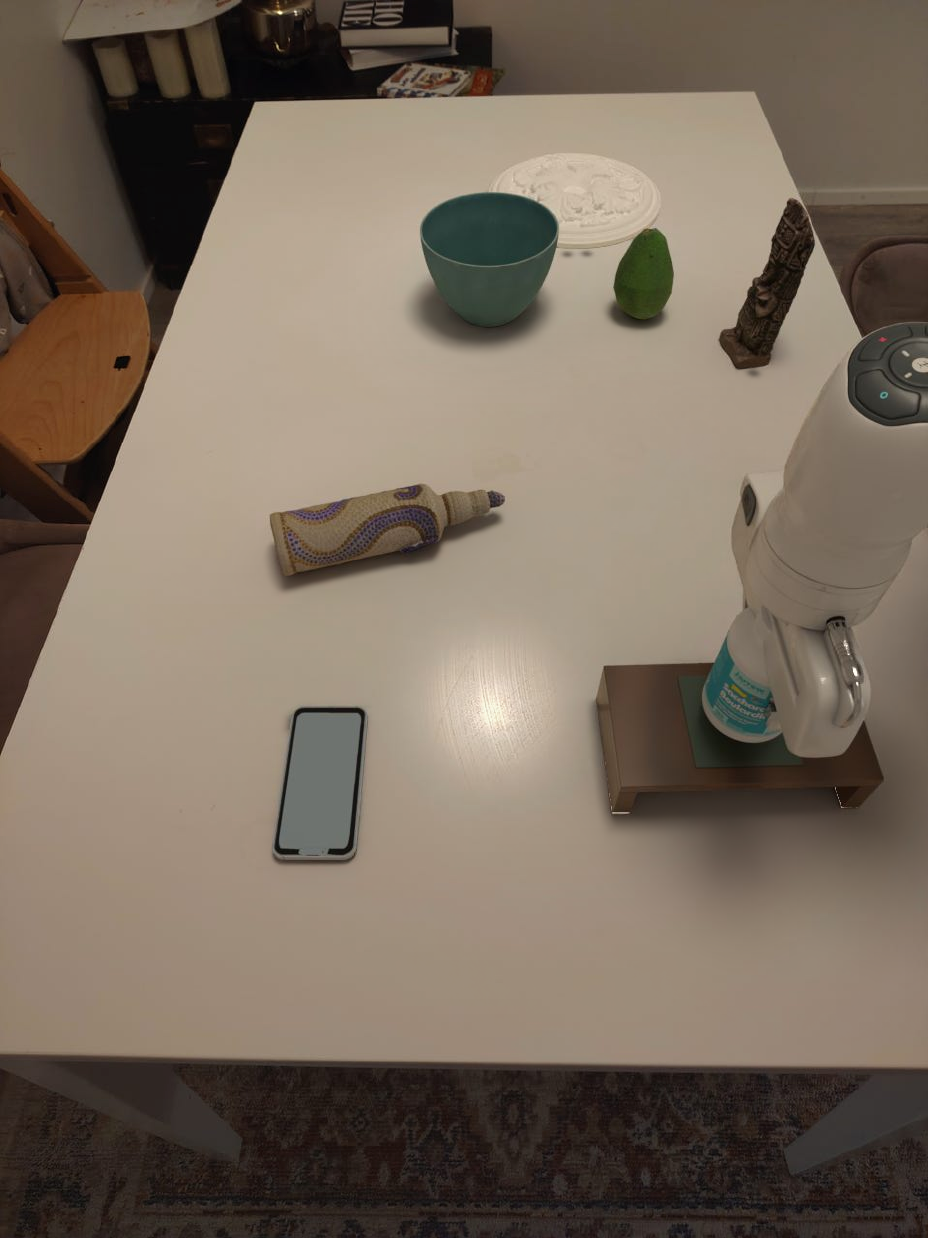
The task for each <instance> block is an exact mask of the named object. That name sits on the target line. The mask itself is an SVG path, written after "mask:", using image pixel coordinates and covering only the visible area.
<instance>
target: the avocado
mask: <svg viewBox="0 0 928 1238" xmlns="http://www.w3.org/2000/svg"><path fill="white" fill-rule="evenodd" d="M673 265H674V264H673V260H672V256H671V252H670V248H669V245H668V240H667V237H666V236H665V235H664V234H663V233H662V232H661V231H660V230H659V229H658V228H657V227H654V228H648V229H644V230H643V231H642V232H641V233H640V234H638V235H637V236H636V237H634V239H633V240H632V241H631V243H630V245H629V246H628V248H627V249H626V251H625V252H624V254H623V255H622V257H621V259H620V261H619V262H618V264H617V268H616V270H615V271H616V272H615V275H614V281H613V287H612V288H613V291H614V296H615V299H616V304H617V305H618V306H619V308H620V309H621V310H622V311H624V312H625V313H626V314H627V315H629V316H630V317H632V318H635V319H639V320H648V319H650V318H653V317H656V316H657V315H658V314H659V313H660V312H661V311H662V310H663V309H664V308H665V307H666V304H668V302H669V299H670V298H671V295H672V293H673V285H674V277H675V273H674V266H673Z"/></svg>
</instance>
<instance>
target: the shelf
mask: <svg viewBox="0 0 928 1238" xmlns="http://www.w3.org/2000/svg"><path fill="white" fill-rule="evenodd" d="M713 665H714V662H687V663H686V662H685V663H653V664H652V663H651V664H618V665H617V664H616V665H615V664H614V665H603V667H602V672H601V675H600V680H599V685H598V689H597V694H596V698H595V699H596V704H597V705H596V707H597V714H599V715H598V722H599V721H600V723H599V729H600V728H601V730H600V736H601V735H602V738H601V744H602V743H603V745H602V750H603V749H604V753H603V757H604V756H605V761H604V763H605V762H606V768H605V771H606V770H607V776H606V779H607V778H608V783H607V786H608V785H609V791H608V794H609V793H610V798H609V800H610V799H611V806H612V812H630V813H631V811H632V808H633V806H634V803H635V800H636V797H637V795H638V793H661V792H694V791H695V792H696V791H700V792H701V791H728V790H729V791H731V790H766V789H771V790H772V789H801V788H802V789H804V788H807V789H808V788H834V787H836V791H837V794H838V797H839V800H840V802H841V806H842V807H859V808H860V807H861V806H862V805H863V803H864V802H866V801H867V799H868V798H869V797H870V796H871V795H872V794H873V793H874V792H875V791H876V790H877V789H878V788H879V787H880V785H882V783H883V782H884V781H885V777H884V775H883V771H882V768H881V765H880V762H879V760H878V757H877V754H876V751H875V748H874V745H873V742H872V739H871V735H870V733H869V730H868V728H867V725H866V722H865V719H864V720H863V723H862V725H861V727H860V728H859V730H858V732H857V734H856V736H855V737H854V739H853V741H852V742H851V744H850V746H849V747H848V748H847V750H846V751H845V752H844V753H843V754H841V755H838V756H832V757H820V758H808V757H799V756H797V755H795V754H793V753H791V752H790V751H789V750H788V749H787V746H786V743H785V739H784V735H783V732H782V733H781V734H779V735H778V736H777V737H775V738H773V739H771V740H768V741H764V742H759V743H749V742H742V741H738V740H735V739H733V738H730V737H728V736H727V735H725V734H723V733H722V732H720V731H719V730H718V729H717V728H716V727H715V726H714V725H713V724H712V723H711V722H710V720H709V719H708V717H707V715H706V713H705V711H704V708H703V703H702V692H703V688H704V685H705V683H706V680H707V678H708V676H709V673H710V671H711V669H712V667H713ZM834 791H835V790H834ZM836 791H835V793H836ZM611 806H610V807H611Z"/></svg>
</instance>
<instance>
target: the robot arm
mask: <svg viewBox="0 0 928 1238" xmlns="http://www.w3.org/2000/svg"><path fill="white" fill-rule="evenodd" d="M785 461H786V462H785V464H784V468H783V469H781V470H765V471H755V472H748V473H746V474H745V475H744V477H743V479H742V481H741V486H740V489H739V495H740V496H739V497H740V500H739V502H738V505H737V508H736V512H735V515H734V518H733V522H732V526H731V531H730V533H731V534H730V539H731V541H730V542H731V543H730V544H731V550H732V553H733V557H734V560H735V565H736V568H737V572H738V575H739V578H740V579H739V580H740V583H741V586H742V607H741V608H742V610H741V612H742V611H743V610H744V609H746V608H747V607H749V608H750V609H751V611H752V613H753V615H754V617H755V619H756V614H757V612H758V610H759V608H760V606H761V604H762V605H763V606H764V607H765V609H766V612H767V616H768V619H769V623H770V626H771V630H772V635H771V637H770V639H769V641H765V640H764V641H763V648H764V655H765V664H766V672H767V677H768V681H769V684H770V688H771V692H772V695H773V699H774V703H768V704H767V706H766V709H765V710H764V711H763V713H764V717H765V721H766V726H767V729H768V730H782V732H783V735H784V739H785V743H786V746H787V749H788V750H789V751H790V752H791V753H793V754H795V755H797V756H799V757H808V758H820V757H832V756H838V755H841V754H843V753H844V752H845V751H846V750H847V748H848V747H849V746H850V744H851V742H852V741H853V739H854V737H855V736H856V734H857V732H858V730H859V728H860V727H861V725H862V723H863V720H864V721H865V718H866V716H867V714H868V711H869V708H870V706H871V700H872V685H871V681H870V676H869V673H868V670H867V668H866V665H865V662H864V659H863V657H862V654H861V653H862V652H861V651H860V647H859V644H858V642H857V640H856V636H855V634H854V631H853V628H852V627H855V626H857V625H859V624H861V623H863V622H864V621H865V620H867V619H868V618H869V617H870V616H871V615H872V614H873V613H874V612H875V610H876V609H877V607H878V606H879V604H880V602H881V601H882V599H883V598H884V597H885V595H886V593H887V592H888V590H889V589H890V588H891V586H892V584H893V582H894V581H895V580H896V578H897V577H898V575H899V574H900V573H901V571H902V569H903V568H904V566H905V564H906V562H907V561H908V559H909V556H910V553H911V550H912V549H911V548H912V543H913V539H914V538H915V537H917V536H918V535H919V534H921V533H922V532H923V531H925V529H927V528H928V322H924V321H909V322H900V323H894V324H891V325H888V326H883V327H881V328H878V329H876V330H873V331H872V332H869V333H868V334H866V335H865V336H863V337H862V338H860V339H859V340H858V341H856V342H855V343H854V344H853V345H852V346H851V348H850V349H849V350H848V351H847V352H846V354H845V355H844V356H843V357H842V359H841V360H840V361H839V362H838V364H837V365H836V367H835V368H834V369H833V371H832V372H831V374H830V375H829V377H828V378H827V379H826V382H825V383H824V385H823V386H822V388H821V390H820V392H819V393H818V395H817V397H815V400H814V402H813V403H812V405H811V406H810V409H809V410H808V413H807V415H806V416H805V418H804V420H803V422H802V424H801V426H800V428H799V431H798V432H797V435H796V438H795V439H794V441H793V444H792V447H791V448H790V451H789V454H788V456H787V459H786V460H785Z"/></svg>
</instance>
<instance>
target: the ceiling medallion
mask: <svg viewBox="0 0 928 1238" xmlns="http://www.w3.org/2000/svg"><path fill="white" fill-rule="evenodd" d="M487 192H501V193H510V194H516V195H520V196H524V197H527V198H530V199H533V200H535V201H537V202H539V203H541V204H543V205H544V206H546V207H547V208H548V209H549V210H550V211H551V212H552V213H553V214H554V215H555V217H556V219H557V221H558V224H559V235H558V241H557V247H556V248H561V249H574V250H575V249H576V250H577V249H579V250H580V249H594V248H603V247H607V246H608V247H609V246H613V245H617V244H620V243H623V242H626V241H629V240H631V239H633V238H635V237H636V236H637V235H638V234H640V233H641V232H642V231H643V230H644V229H650V227H651V226H652V225H653V224H654V223H655V222H656V221H657V219H658V217H659V214H660V211H661V206H662V196H661V192H660V190H659V188H658V187H657V185H656V183H655V182H654V180H652V179H651V178H650V177H649V176H647V174H645V173H644V172H642V171H641V170H639V169H638V168H635V167H634V166H632V165H630V164H628V163H626V162H624V161H621V160H618V159H614V158H610V157H607V156H603V155H599V154H593V153H592V154H591V153H583V152H582V153H581V152H561V153H560V152H555V153H553V154H552V153H551V154H549V153H548V154H545V155H540V156H537V157H533V158H529V159H526V160H524V161H521V162H518V163H516V164H513V166H511V167H509V168H507V169H506V170H504V171H503V172H501V173H500V174H499V175H497V177H496V178H495V179H494V180H493V181H492V183H491V184H490V186H489V189H488V191H487Z"/></svg>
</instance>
